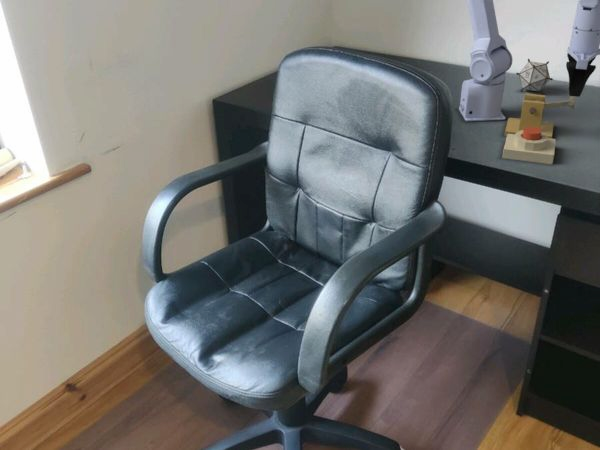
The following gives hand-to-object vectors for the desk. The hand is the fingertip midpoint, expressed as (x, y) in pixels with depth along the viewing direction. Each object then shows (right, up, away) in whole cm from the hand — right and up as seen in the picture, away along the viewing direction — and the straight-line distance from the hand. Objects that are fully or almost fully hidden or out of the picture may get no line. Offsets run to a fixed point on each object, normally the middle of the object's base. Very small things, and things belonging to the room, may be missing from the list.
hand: (574, 91), depth 133 cm
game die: (+2, +6, +29) cm, 29 cm away
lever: (-4, -3, +4) cm, 6 cm away
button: (-11, -10, -3) cm, 15 cm away
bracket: (-7, -7, +8) cm, 13 cm away
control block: (-10, -13, -1) cm, 17 cm away
